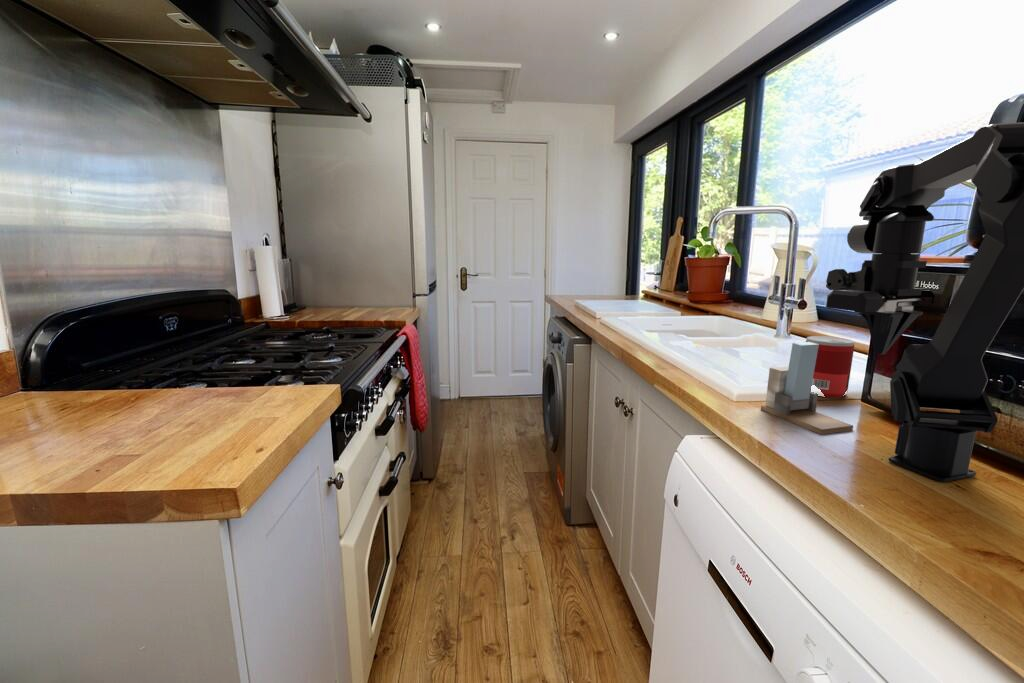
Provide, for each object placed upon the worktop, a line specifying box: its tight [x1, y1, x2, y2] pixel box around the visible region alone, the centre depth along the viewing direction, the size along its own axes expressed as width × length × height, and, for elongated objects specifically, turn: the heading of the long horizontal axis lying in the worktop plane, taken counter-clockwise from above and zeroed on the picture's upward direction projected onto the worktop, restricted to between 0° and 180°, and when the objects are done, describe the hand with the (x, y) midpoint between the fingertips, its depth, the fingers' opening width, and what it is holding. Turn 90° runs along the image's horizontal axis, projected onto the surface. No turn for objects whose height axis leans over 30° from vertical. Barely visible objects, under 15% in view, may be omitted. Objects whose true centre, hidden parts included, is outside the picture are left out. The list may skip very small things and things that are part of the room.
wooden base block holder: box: [760, 365, 854, 435], centre depth 78 cm, size 12×6×8 cm, turn 16°
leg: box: [784, 341, 819, 410], centre depth 79 cm, size 2×4×11 cm, turn 106°
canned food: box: [805, 335, 855, 399], centre depth 93 cm, size 8×8×11 cm
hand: (879, 353), depth 74 cm, fingers closed
